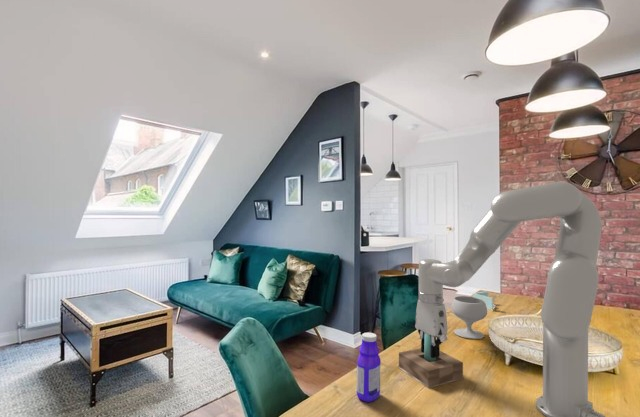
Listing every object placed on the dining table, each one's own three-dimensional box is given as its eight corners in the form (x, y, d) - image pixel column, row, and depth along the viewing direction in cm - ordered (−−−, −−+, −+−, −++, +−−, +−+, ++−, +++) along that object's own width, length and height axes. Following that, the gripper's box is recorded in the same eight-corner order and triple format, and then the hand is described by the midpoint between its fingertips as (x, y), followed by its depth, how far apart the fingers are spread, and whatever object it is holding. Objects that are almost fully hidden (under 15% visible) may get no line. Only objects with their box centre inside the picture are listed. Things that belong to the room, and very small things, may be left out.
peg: (438, 368, 108) (438, 331, 108) (429, 370, 106) (429, 332, 106) (430, 363, 111) (430, 327, 111) (421, 365, 109) (421, 328, 110)
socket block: (463, 378, 105) (463, 362, 105) (428, 388, 99) (428, 371, 99) (431, 359, 118) (431, 345, 118) (397, 367, 112) (398, 352, 112)
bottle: (366, 388, 99) (367, 329, 99) (383, 394, 95) (384, 333, 95) (352, 398, 93) (353, 335, 93) (370, 406, 90) (371, 341, 90)
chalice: (464, 326, 153) (464, 294, 153) (493, 336, 141) (494, 301, 141) (444, 332, 145) (444, 298, 146) (474, 343, 134) (474, 305, 134)
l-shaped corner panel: (492, 312, 178) (492, 298, 178) (472, 306, 188) (472, 293, 188) (506, 309, 183) (506, 295, 184) (486, 304, 194) (486, 291, 194)
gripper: (459, 303, 103) (458, 362, 103) (421, 291, 118) (421, 343, 118) (440, 305, 100) (440, 367, 99) (404, 293, 115) (404, 346, 115)
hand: (430, 353), depth 109 cm, fingers closed on peg, 3 cm apart
